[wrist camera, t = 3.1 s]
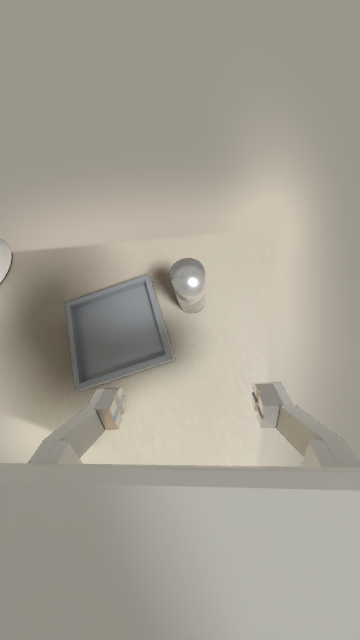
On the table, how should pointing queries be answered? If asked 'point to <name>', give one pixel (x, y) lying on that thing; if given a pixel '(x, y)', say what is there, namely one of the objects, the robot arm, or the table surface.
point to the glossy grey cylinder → (189, 284)
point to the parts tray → (116, 333)
